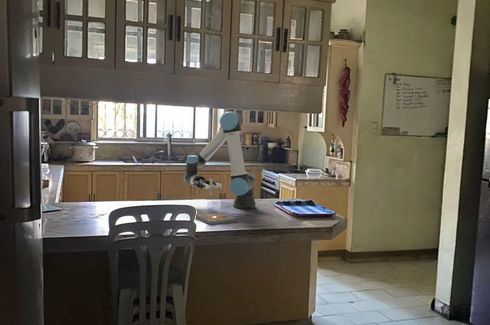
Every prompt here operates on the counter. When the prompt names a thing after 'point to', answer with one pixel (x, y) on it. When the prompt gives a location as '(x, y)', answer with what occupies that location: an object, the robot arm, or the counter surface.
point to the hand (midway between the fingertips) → (214, 186)
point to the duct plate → (215, 218)
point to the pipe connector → (212, 187)
